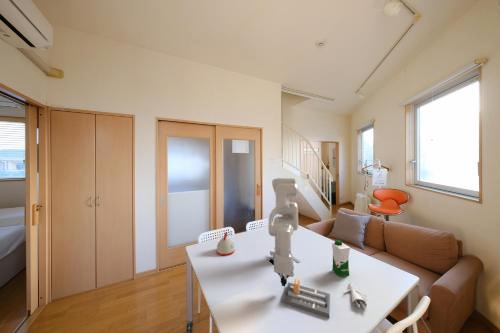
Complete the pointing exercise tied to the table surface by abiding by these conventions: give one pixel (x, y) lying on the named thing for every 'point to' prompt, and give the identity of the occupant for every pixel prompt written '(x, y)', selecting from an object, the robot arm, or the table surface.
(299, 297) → the console
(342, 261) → the milk carton
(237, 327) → the table surface
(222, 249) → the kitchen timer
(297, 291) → the fader
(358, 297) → the woman figurine
